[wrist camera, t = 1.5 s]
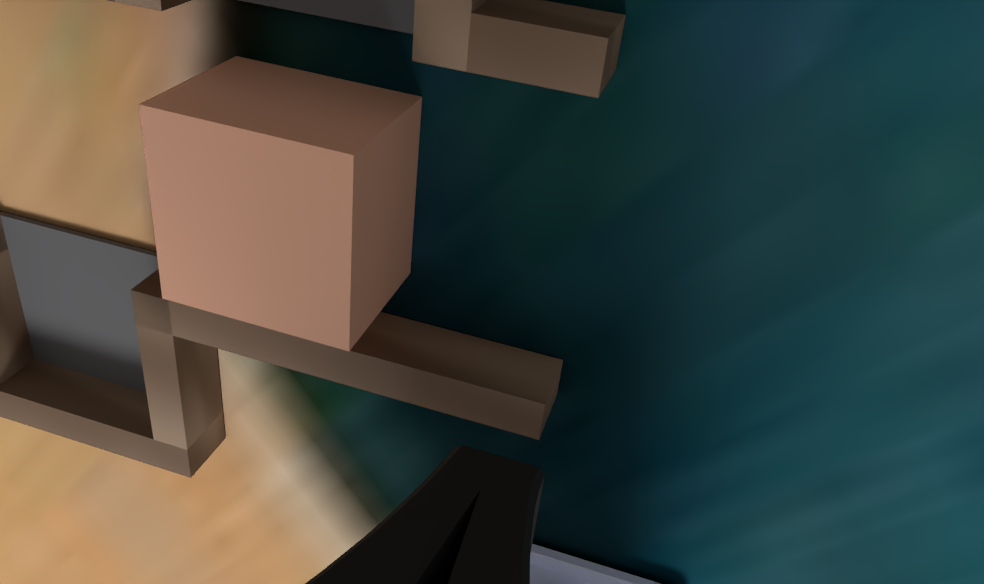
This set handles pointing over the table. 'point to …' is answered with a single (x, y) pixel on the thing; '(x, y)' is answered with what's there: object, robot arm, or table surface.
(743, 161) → the table surface
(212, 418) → the trap lane
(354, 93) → the block
